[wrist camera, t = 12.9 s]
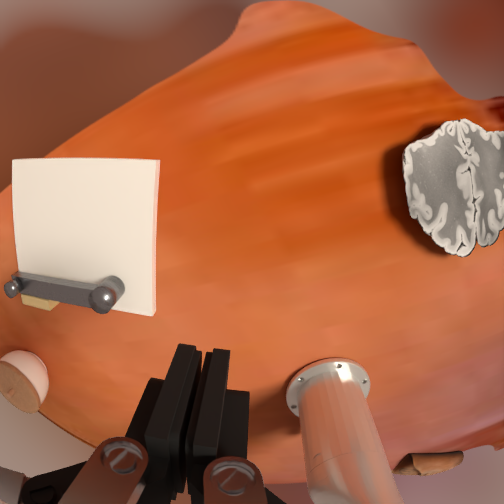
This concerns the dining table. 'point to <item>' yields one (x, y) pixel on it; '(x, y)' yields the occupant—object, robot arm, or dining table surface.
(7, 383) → the lidded jar
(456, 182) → the brain slice
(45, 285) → the bar
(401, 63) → the dining table surface
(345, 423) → the robot arm
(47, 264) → the door board
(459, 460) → the sunglasses case
